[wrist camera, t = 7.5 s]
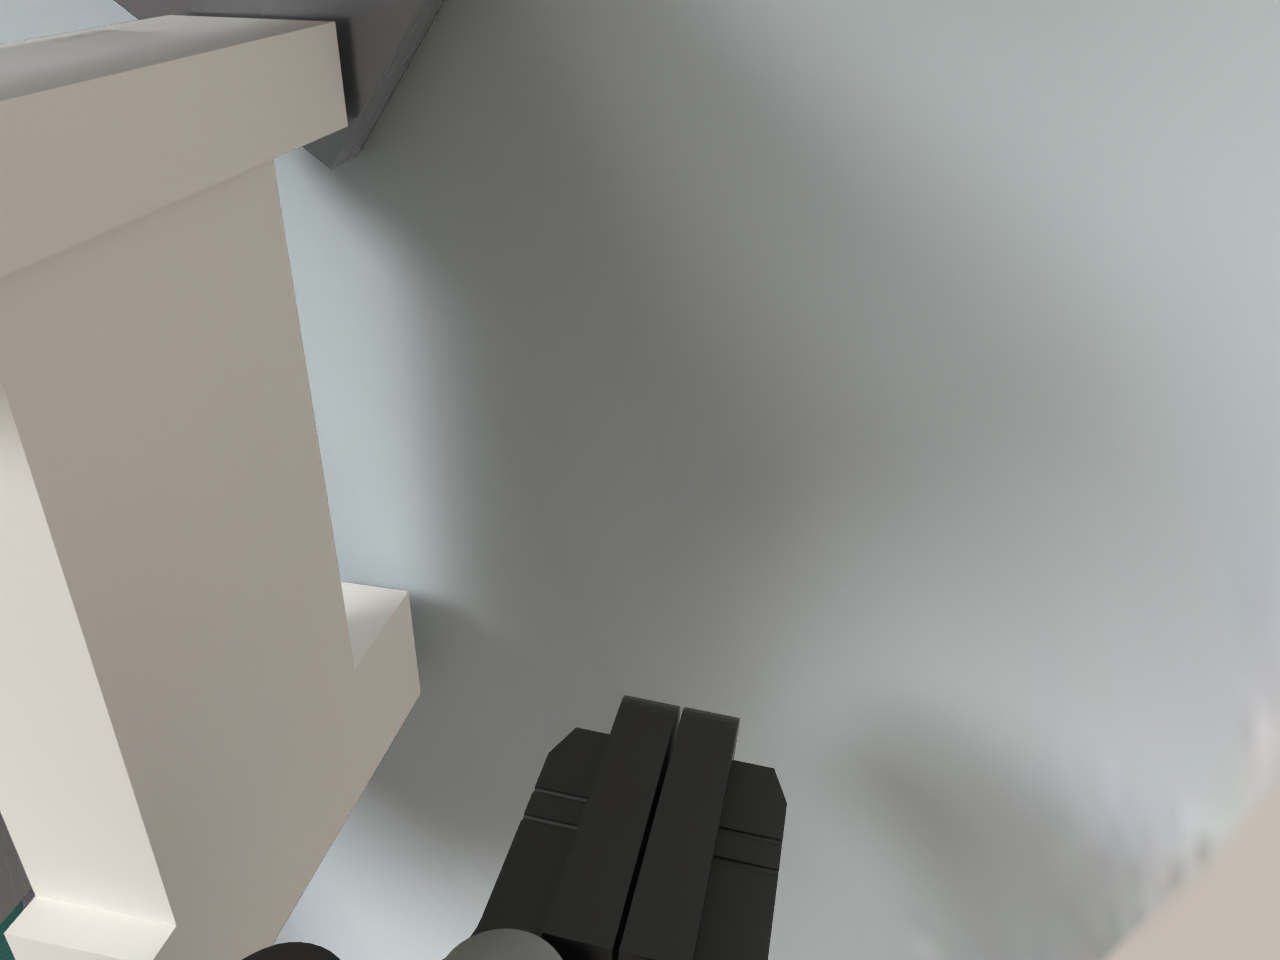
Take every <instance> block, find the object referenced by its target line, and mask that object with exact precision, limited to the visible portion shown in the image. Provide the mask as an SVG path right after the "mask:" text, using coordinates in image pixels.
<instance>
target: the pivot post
mask: <svg viewBox="0 0 1280 960" xmlns="http://www.w3.org/2000/svg"><path fill="white" fill-rule="evenodd" d="M114 1H115V2H117V3H118V4H119V5H121V6H122V7H123V8H124V9H126V10H127V11H128V12H130V13H131V14H132V15H133V16H135V17H136V18H137V19H139V20H143V19H149V18H154V17H160V16H166V15H182V16H207V17H232V18H258V19H283V20H308V21H333V22H335V25H336V33H337V41H338V49H339V57H340V65H341V74H342V82H343V90H344V98H345V106H346V114H347V122H348V127H345V128H343V129H341V130H338V131H336V132H334V133H331V134H329V135H327V136H325V137H322V138H320V139H318V140H315V141H313V142H311V143H308V144H306V145H304V146H302V147H303V148H305V149H306V150H307V151H308V152H310V153H311V154H312V155H314V156H315V157H316V158H317V159H319V160H320V161H321V162H323V163H324V164H325V165H326V166H328V167H329V168H332V167H334V166H337V165H339V164H341V163H343V162H345V161H347V160H349V159H351V158H353V157H355V156H357V155H358V153H359V152H360V150H361V148H362V146H363V144H364V143H365V141H366V139H367V137H368V135H369V134H370V132H371V130H372V128H373V127H374V125H375V123H376V121H377V119H378V118H379V116H380V114H381V112H382V110H383V109H384V107H385V105H386V103H387V101H388V100H389V98H390V96H391V94H392V93H393V91H394V89H395V87H396V85H397V84H398V82H399V80H400V78H401V76H402V75H403V73H404V71H405V69H406V68H407V66H408V64H409V62H410V60H411V59H412V57H413V55H414V53H415V51H416V50H417V48H418V46H419V44H420V42H421V41H422V39H423V37H424V35H425V34H426V32H427V30H428V28H429V26H430V25H431V23H432V21H433V19H434V17H435V16H436V14H437V12H438V10H439V9H440V7H441V5H442V3H443V1H444V0H114Z"/></svg>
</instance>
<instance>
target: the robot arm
mask: <svg viewBox="0 0 1280 960" xmlns="http://www.w3.org/2000/svg"><path fill="white" fill-rule="evenodd" d="M679 718H680V706H675V705H670V704H666V703H661V702H656V701H651V700H646V699H641V698H636V697H631V696H626V695H625V696H624V697H623V699H622V701H621V704H620V707H619V710H618V713H617V716H616V719H615V722H614V724H613V727H612V730H611V733H610V735H609V734H605V733H600V732H595V731H590V730H585V729H581V728H575V729H574V730H573V731H572V732H571V733H570V734H569V735H568V736H567V737H566V738H565V739H563V740H562V741H561V742H560V743H559V744H558V745H557V746H556V747H555V748H554V749H553V750H552V751H550V752H549V754H548V756H547V759H546V761H545V763H544V766H543V768H542V771H541V773H540V776H539V778H538V781H537V783H536V786H535V791H534V793H532V795H531V798H530V800H529V803H528V805H527V808H526V810H525V813H524V818H523V820H521V822H520V825H519V827H518V830H517V832H516V835H515V837H514V840H513V842H512V844H511V847H510V849H509V852H508V854H507V857H506V859H505V862H504V864H503V867H502V869H501V871H500V874H499V876H498V879H497V881H496V884H495V886H494V889H493V891H492V894H491V896H490V898H489V901H488V903H487V906H486V908H485V911H484V913H483V916H482V918H481V920H480V922H479V924H478V926H477V928H476V929H475V931H474V932H473V934H472V935H471V936H470V938H468V939H467V940H465V941H463V942H462V943H460V944H459V945H458V946H457V947H455V948H454V949H453V950H452V951H451V952H450V953H449V955H448V956H447V957H446V958H445V959H443V960H768V953H769V945H770V937H771V929H772V921H773V912H774V904H775V896H776V888H777V880H778V871H779V864H780V856H781V848H782V847H781V846H782V839H783V831H784V823H785V815H786V807H787V802H786V800H785V797H784V794H783V792H782V789H781V786H780V783H779V781H778V778H777V775H776V773H775V770H774V768H769V767H764V766H759V765H755V764H750V763H745V762H740V761H735V760H734V753H735V747H736V741H737V734H738V728H739V721H740V718H736V717H731V716H726V715H721V714H716V713H711V712H706V711H702V710H697V709H692V708H687V707H684V709H683V712H682V715H681V719H680V722H679ZM242 960H340V959H339V958H338V957H337V956H336V955H334V954H333V953H332V952H330V951H329V950H327V949H325V948H323V947H321V946H317V945H314V944H310V943H302V942H288V943H282V944H276V945H273V946H270V947H267V948H264V949H261V950H259V951H257V952H255V953H253V954H251V955H249V956H247V957H245V958H244V959H242Z"/></svg>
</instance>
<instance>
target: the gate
mask: <svg viewBox="0 0 1280 960" xmlns="http://www.w3.org/2000/svg"><path fill="white" fill-rule="evenodd" d="M345 127H348V122H347V114H346V106H345V98H344V90H343V82H342V74H341V65H340V57H339V49H338V41H337V33H336V25H335V22H333V21H308V20H283V19H258V18H232V17H207V16H182V15H166V16H160V17H154V18H149V19H143V20H137V21H132V22H126V23H120V24H114V25H109V26H103V27H97V28H91V29H86V30H80V31H74V32H69V33H63V34H57V35H51V36H46V37H40V38H34V39H28V40H23V41H17V42H11V43H6V44H0V812H1V814H2V817H3V819H4V821H5V824H6V826H7V829H8V831H9V834H10V836H11V838H12V841H13V843H14V846H15V848H16V850H17V853H18V855H19V858H20V860H21V862H22V865H23V867H24V870H25V872H26V874H27V877H28V879H29V882H30V884H31V887H32V889H33V891H34V894H35V897H34V898H33V900H32V901H31V902H30V903H29V904H28V906H27V907H26V908H25V909H24V910H23V911H22V913H21V914H20V915H19V916H18V917H17V918H16V920H15V921H14V922H13V923H12V924H11V925H10V927H9V928H8V929H7V930H6V931H5V932H4V935H5V937H6V940H7V942H8V944H9V946H10V948H11V951H12V953H13V955H14V957H15V960H242V959H244V958H245V957H247V956H249V955H251V954H253V953H255V952H257V951H259V950H261V949H264V948H267V947H270V946H272V945H273V943H274V942H275V940H276V938H277V936H278V935H279V933H280V931H281V930H282V928H283V926H284V925H285V923H286V921H287V920H288V918H289V916H290V914H291V913H292V911H293V909H294V908H295V906H296V904H297V903H298V901H299V899H300V897H301V896H302V894H303V892H304V891H305V889H306V887H307V886H308V884H309V882H310V881H311V879H312V877H313V875H314V874H315V872H316V870H317V869H318V867H319V865H320V864H321V862H322V860H323V858H324V857H325V855H326V853H327V852H328V850H329V848H330V847H331V845H332V843H333V842H334V840H335V838H336V836H337V835H338V833H339V831H340V830H341V828H342V826H343V825H344V823H345V821H346V819H347V818H348V816H349V814H350V813H351V811H352V809H353V808H354V806H355V804H356V803H357V801H358V799H359V797H360V796H361V794H362V792H363V791H364V789H365V787H366V786H367V784H368V782H369V780H370V779H371V777H372V775H373V774H374V772H375V770H376V769H377V767H378V765H379V764H380V762H381V760H382V758H383V757H384V755H385V753H386V752H387V750H388V748H389V747H390V745H391V743H392V742H393V740H394V738H395V736H396V735H397V733H398V731H399V730H400V728H401V726H402V725H403V723H404V721H405V719H406V718H407V716H408V714H409V713H410V711H411V709H412V708H413V706H414V704H415V703H416V701H417V699H418V697H419V696H420V694H421V690H420V682H419V674H418V666H417V657H416V649H415V641H414V633H413V624H412V616H411V608H410V600H409V592H408V591H403V590H396V589H389V588H382V587H375V586H368V585H360V584H353V583H346V582H341V580H340V573H339V567H338V561H337V555H336V548H335V542H334V536H333V530H332V524H331V517H330V511H329V505H328V499H327V492H326V486H325V480H324V474H323V467H322V461H321V455H320V449H319V442H318V436H317V430H316V424H315V417H314V411H313V405H312V399H311V392H310V386H309V380H308V374H307V368H306V361H305V355H304V349H303V343H302V336H301V330H300V324H299V318H298V311H297V305H296V299H295V293H294V286H293V280H292V274H291V268H290V261H289V255H288V249H287V243H286V237H285V230H284V224H283V218H282V212H281V205H280V199H279V193H278V187H277V180H276V174H275V168H274V162H273V159H274V158H276V157H279V156H281V155H283V154H285V153H288V152H290V151H292V150H295V149H297V148H299V147H302V146H304V145H306V144H308V143H311V142H313V141H315V140H318V139H320V138H322V137H325V136H327V135H329V134H331V133H334V132H336V131H338V130H341V129H343V128H345Z"/></svg>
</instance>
